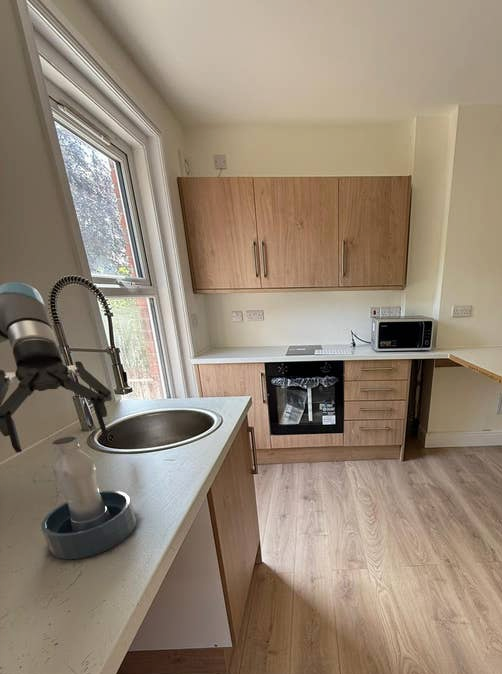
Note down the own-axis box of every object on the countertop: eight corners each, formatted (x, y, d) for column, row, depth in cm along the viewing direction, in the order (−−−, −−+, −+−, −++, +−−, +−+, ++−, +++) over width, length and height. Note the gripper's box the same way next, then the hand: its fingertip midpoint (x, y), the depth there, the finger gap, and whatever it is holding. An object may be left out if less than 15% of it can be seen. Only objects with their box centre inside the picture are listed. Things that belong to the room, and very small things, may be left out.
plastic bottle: (104, 518, 73) (76, 430, 65) (120, 530, 69) (92, 438, 62) (70, 535, 68) (35, 442, 60) (85, 548, 64) (50, 451, 57)
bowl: (33, 565, 62) (21, 538, 60) (80, 515, 75) (72, 492, 73) (115, 560, 63) (106, 533, 60) (148, 512, 76) (142, 488, 74)
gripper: (106, 353, 81) (135, 431, 76) (-40, 369, 67) (-18, 466, 62) (104, 332, 75) (134, 415, 70) (-58, 344, 61) (-35, 449, 56)
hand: (63, 439), depth 66 cm, fingers open, 13 cm apart
